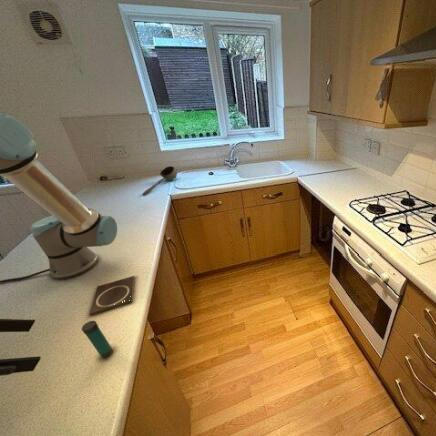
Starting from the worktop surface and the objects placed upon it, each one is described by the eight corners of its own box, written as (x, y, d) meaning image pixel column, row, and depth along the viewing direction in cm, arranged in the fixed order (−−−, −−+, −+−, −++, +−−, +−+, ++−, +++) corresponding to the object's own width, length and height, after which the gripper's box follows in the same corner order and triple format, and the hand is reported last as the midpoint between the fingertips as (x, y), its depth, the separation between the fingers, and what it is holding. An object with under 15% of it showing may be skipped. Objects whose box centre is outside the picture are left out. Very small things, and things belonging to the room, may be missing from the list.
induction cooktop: (90, 315, 79) (89, 313, 78) (98, 288, 90) (97, 286, 89) (132, 302, 83) (131, 300, 83) (135, 277, 94) (134, 275, 94)
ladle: (181, 174, 200) (175, 164, 193) (158, 204, 173) (150, 193, 166) (169, 175, 202) (163, 165, 196) (144, 205, 175) (136, 194, 168)
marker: (99, 360, 65) (80, 332, 60) (101, 351, 68) (82, 323, 62) (112, 355, 67) (94, 327, 61) (114, 346, 69) (96, 318, 63)
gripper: (-167, 386, 30) (50, 365, 47) (-111, 289, 45) (38, 299, 62) (-207, 444, 29) (28, 401, 46) (-137, 326, 44) (21, 326, 61)
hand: (34, 343), depth 54 cm, fingers open, 13 cm apart
